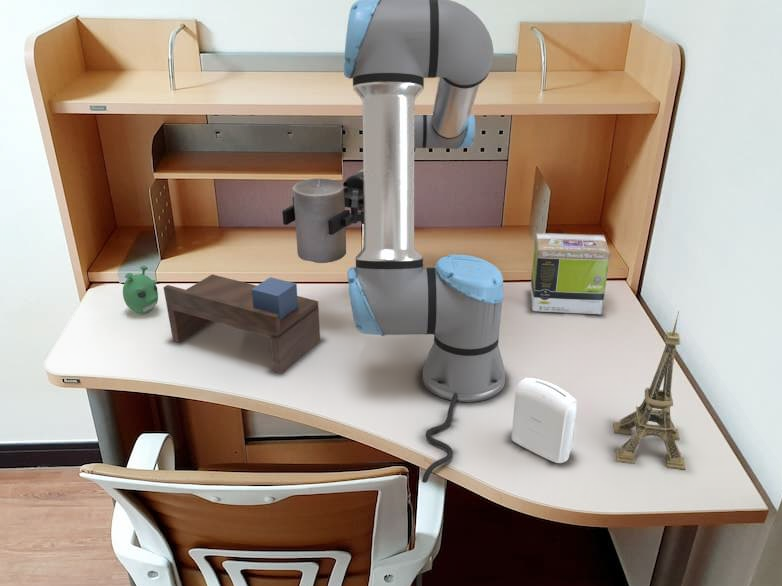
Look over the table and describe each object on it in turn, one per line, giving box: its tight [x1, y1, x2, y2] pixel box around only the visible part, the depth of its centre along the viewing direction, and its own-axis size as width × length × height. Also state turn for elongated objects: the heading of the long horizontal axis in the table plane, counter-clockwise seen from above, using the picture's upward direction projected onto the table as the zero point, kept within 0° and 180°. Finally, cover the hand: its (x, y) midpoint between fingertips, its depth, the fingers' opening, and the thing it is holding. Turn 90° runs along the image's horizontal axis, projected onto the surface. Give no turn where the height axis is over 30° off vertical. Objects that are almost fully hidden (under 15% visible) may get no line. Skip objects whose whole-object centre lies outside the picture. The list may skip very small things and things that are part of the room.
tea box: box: [530, 232, 611, 315], centre depth 164 cm, size 15×10×15 cm, turn 84°
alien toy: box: [122, 264, 159, 315], centre depth 159 cm, size 7×8×10 cm
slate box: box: [252, 276, 298, 320], centre depth 143 cm, size 6×6×5 cm
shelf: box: [163, 274, 321, 374], centre depth 149 cm, size 26×14×12 cm, turn 63°
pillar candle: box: [292, 178, 347, 264], centre depth 146 cm, size 10×10×15 cm
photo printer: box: [511, 377, 578, 464], centre depth 121 cm, size 10×4×12 cm, turn 47°
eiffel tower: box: [613, 310, 687, 471], centre depth 118 cm, size 11×11×25 cm
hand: (307, 222), depth 143 cm, fingers closed on pillar candle, 10 cm apart
